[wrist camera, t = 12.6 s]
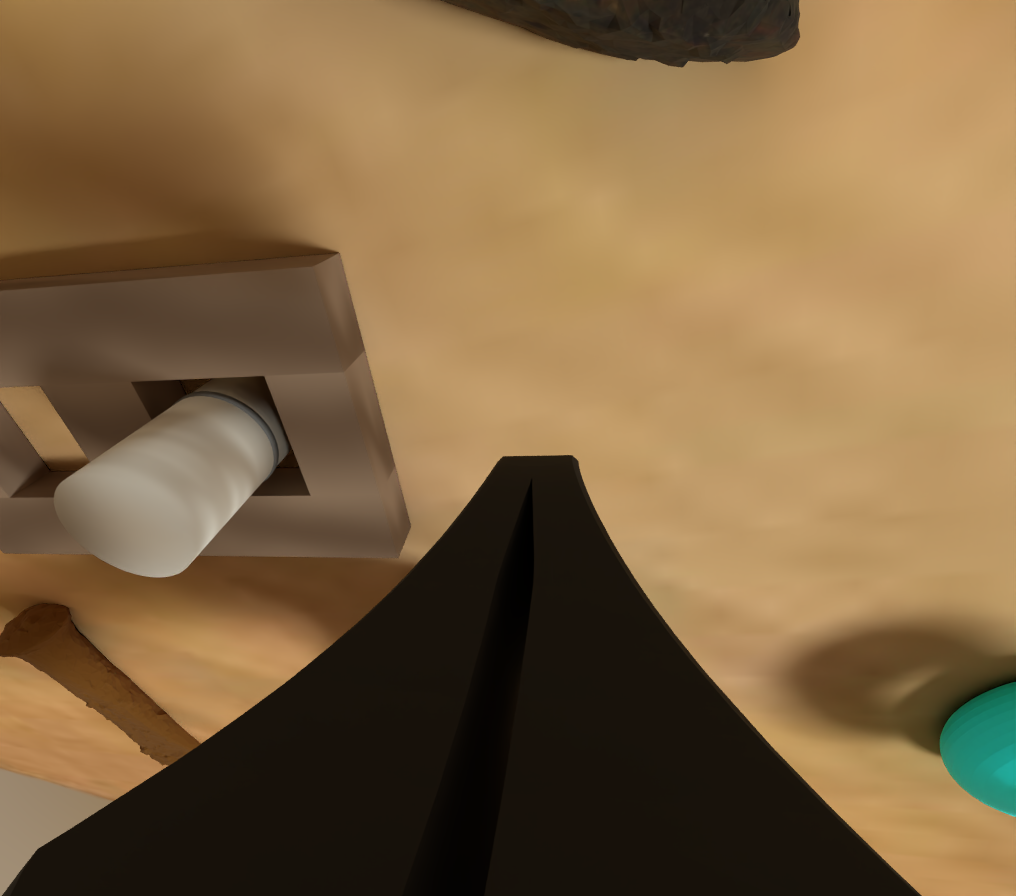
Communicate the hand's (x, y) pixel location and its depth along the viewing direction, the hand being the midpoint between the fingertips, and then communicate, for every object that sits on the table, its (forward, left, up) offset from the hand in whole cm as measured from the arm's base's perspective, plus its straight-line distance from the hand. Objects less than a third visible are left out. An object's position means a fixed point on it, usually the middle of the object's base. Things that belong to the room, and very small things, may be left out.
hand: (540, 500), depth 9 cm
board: (-3, +17, -9) cm, 20 cm away
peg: (-3, +13, -9) cm, 16 cm away
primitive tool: (-25, +30, -10) cm, 41 cm away
